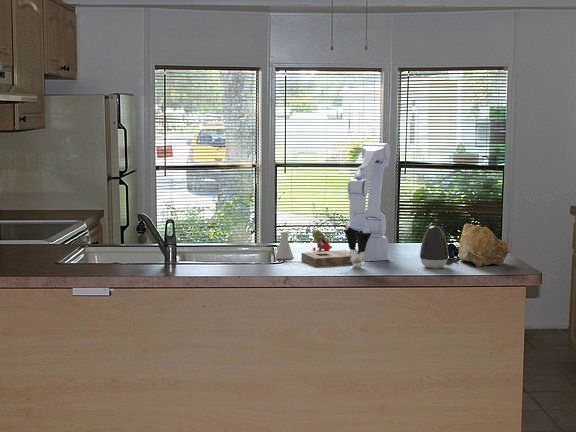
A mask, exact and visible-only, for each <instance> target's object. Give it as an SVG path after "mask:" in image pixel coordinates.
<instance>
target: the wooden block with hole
mask: <svg viewBox="0 0 576 432" xmlns="http://www.w3.org/2000/svg"><path fill="white" fill-rule="evenodd" d="M300 260H301V261H302V262H303V263H306V264H308V265H310V266H312V267H315V268H316V267H330V266H345V265H346V266H347V265H352V262H351V261H350V250H346V249H345V250H343V249H342V250H328V251H325V250H324V251H322V252H321V251H312V252H309V251H307V252H301V259H300Z"/></svg>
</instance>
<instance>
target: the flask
mask: <svg viewBox="0 0 576 432" xmlns="http://www.w3.org/2000/svg"><path fill="white" fill-rule="evenodd" d="M288 237H289V232H288V231H280V241H279V245H278V247H277V250H276V252H275V256H274V259H278V260H291V259H294V254H293V252H292V249H291V246H290V242H289V238H288Z"/></svg>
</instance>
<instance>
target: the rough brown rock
mask: <svg viewBox="0 0 576 432" xmlns="http://www.w3.org/2000/svg"><path fill="white" fill-rule="evenodd" d="M458 244H459V245H458V246H459V247H458V259H459V260H461V261H466V262H472V263H473V264H474V265H475V266H476V267H482V266H490V265H492V264H494V265H496V266H502V265H503V264H504V262H505V259H506V257H507V256H508V254H509V253H510V249H509V247H508V245H507V244H508V243H506V241H504V240H502V239H499V238H497V237H496V234H494V232H493V231H492V230H490V229H489V227H487V226H481V225H476V224H475V225H474V224H472V223H465V224H464V225H463V229H462V232H461V236H460V239H459V243H458Z"/></svg>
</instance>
